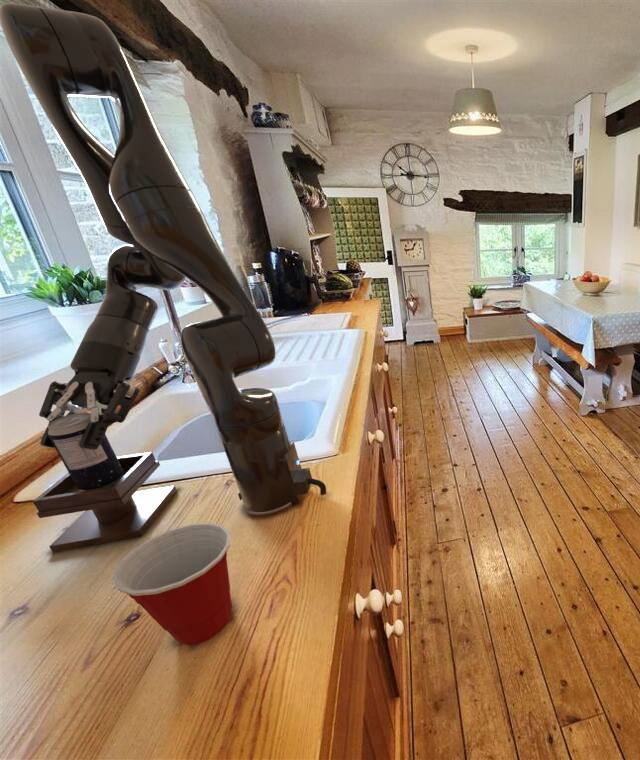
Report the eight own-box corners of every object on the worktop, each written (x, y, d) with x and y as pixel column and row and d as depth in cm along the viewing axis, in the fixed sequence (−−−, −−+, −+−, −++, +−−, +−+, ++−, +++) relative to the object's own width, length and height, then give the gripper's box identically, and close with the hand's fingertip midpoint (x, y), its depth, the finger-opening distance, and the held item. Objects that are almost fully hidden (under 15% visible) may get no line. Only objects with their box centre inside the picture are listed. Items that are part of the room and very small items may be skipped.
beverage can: (134, 473, 70) (104, 411, 65) (101, 495, 65) (66, 429, 60) (104, 472, 70) (73, 411, 66) (69, 494, 65) (32, 428, 60)
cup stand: (177, 490, 77) (158, 448, 73) (141, 536, 66) (117, 490, 62) (102, 502, 74) (79, 460, 71) (52, 552, 64) (22, 505, 60)
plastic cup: (265, 624, 51) (237, 553, 46) (157, 688, 45) (111, 612, 40) (246, 572, 59) (220, 506, 54) (151, 620, 52) (112, 550, 48)
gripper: (49, 338, 66) (-3, 440, 60) (129, 338, 64) (83, 443, 58) (97, 358, 73) (55, 451, 67) (170, 358, 71) (133, 454, 65)
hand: (68, 447), depth 63 cm, fingers open, 6 cm apart
